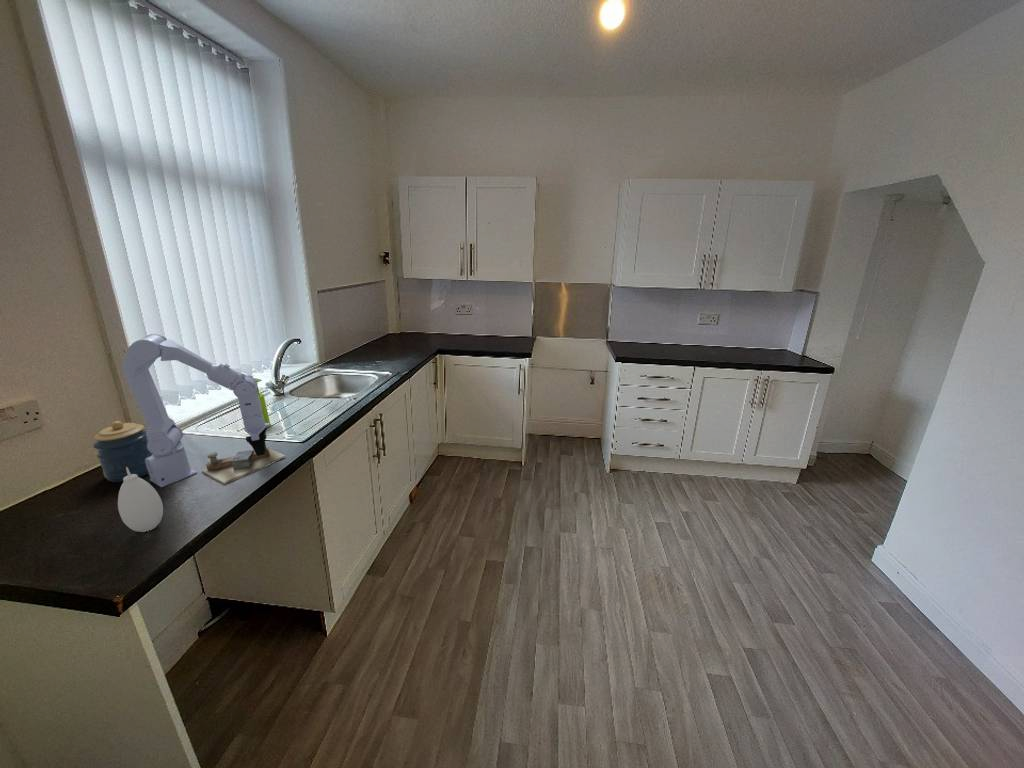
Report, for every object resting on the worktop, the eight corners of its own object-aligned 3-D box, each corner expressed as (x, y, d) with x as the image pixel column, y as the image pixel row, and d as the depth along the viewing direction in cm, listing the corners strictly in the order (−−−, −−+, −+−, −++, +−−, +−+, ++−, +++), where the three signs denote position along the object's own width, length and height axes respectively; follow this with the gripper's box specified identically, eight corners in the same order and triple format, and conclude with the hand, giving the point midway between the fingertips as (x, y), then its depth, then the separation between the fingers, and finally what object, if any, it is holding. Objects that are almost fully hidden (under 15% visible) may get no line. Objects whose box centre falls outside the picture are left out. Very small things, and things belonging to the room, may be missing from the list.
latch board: (224, 484, 121) (223, 482, 121) (202, 472, 128) (201, 470, 128) (285, 457, 136) (285, 455, 136) (263, 447, 143) (262, 445, 143)
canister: (128, 485, 121) (108, 432, 116) (94, 480, 124) (73, 428, 118) (170, 463, 133) (154, 414, 128) (139, 460, 136) (122, 411, 130)
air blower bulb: (127, 529, 102) (103, 466, 96) (166, 515, 107) (146, 455, 101) (129, 544, 97) (103, 479, 91) (170, 529, 102) (149, 466, 96)
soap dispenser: (264, 430, 157) (253, 381, 151) (249, 429, 158) (238, 380, 152) (276, 424, 162) (265, 377, 156) (261, 422, 164) (250, 376, 157)
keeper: (250, 470, 129) (247, 459, 127) (234, 472, 127) (231, 461, 126) (256, 460, 135) (253, 449, 133) (240, 462, 133) (238, 451, 132)
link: (207, 471, 126) (202, 456, 124) (207, 466, 129) (203, 451, 128) (270, 456, 135) (266, 442, 133) (268, 451, 138) (265, 437, 137)
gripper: (266, 419, 125) (274, 457, 130) (266, 404, 137) (274, 440, 142) (239, 423, 122) (249, 463, 127) (242, 408, 134) (251, 444, 139)
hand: (261, 451), depth 134 cm, fingers open, 5 cm apart
